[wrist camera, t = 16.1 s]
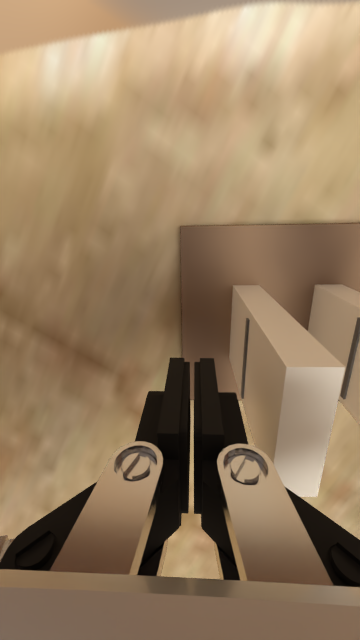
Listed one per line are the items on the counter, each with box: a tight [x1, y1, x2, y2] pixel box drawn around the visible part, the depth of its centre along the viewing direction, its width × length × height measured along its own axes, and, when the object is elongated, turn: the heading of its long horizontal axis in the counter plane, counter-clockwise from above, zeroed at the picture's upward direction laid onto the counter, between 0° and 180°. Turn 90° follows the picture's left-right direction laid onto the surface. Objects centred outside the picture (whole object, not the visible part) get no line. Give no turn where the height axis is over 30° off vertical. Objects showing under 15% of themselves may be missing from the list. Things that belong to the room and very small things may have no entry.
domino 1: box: [229, 285, 345, 497], centre depth 13 cm, size 2×5×10 cm, turn 1°
